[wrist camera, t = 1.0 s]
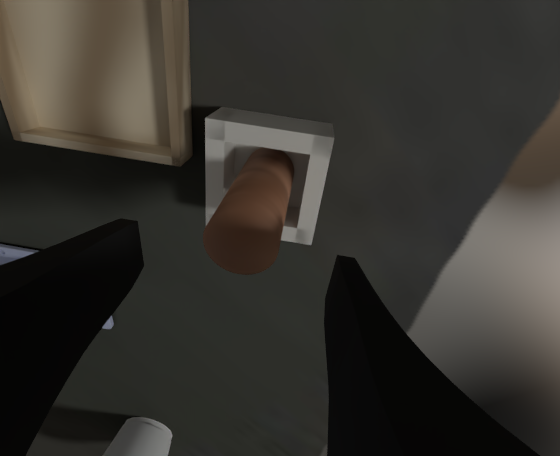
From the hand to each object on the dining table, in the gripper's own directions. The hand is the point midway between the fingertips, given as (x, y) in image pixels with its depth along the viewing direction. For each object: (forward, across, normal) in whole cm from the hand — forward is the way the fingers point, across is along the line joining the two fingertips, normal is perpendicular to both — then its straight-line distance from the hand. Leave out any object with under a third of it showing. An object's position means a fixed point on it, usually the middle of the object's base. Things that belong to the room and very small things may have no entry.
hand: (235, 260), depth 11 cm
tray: (+10, +10, -6) cm, 15 cm away
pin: (+9, 0, 0) cm, 9 cm away
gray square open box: (+10, 0, 0) cm, 10 cm away
